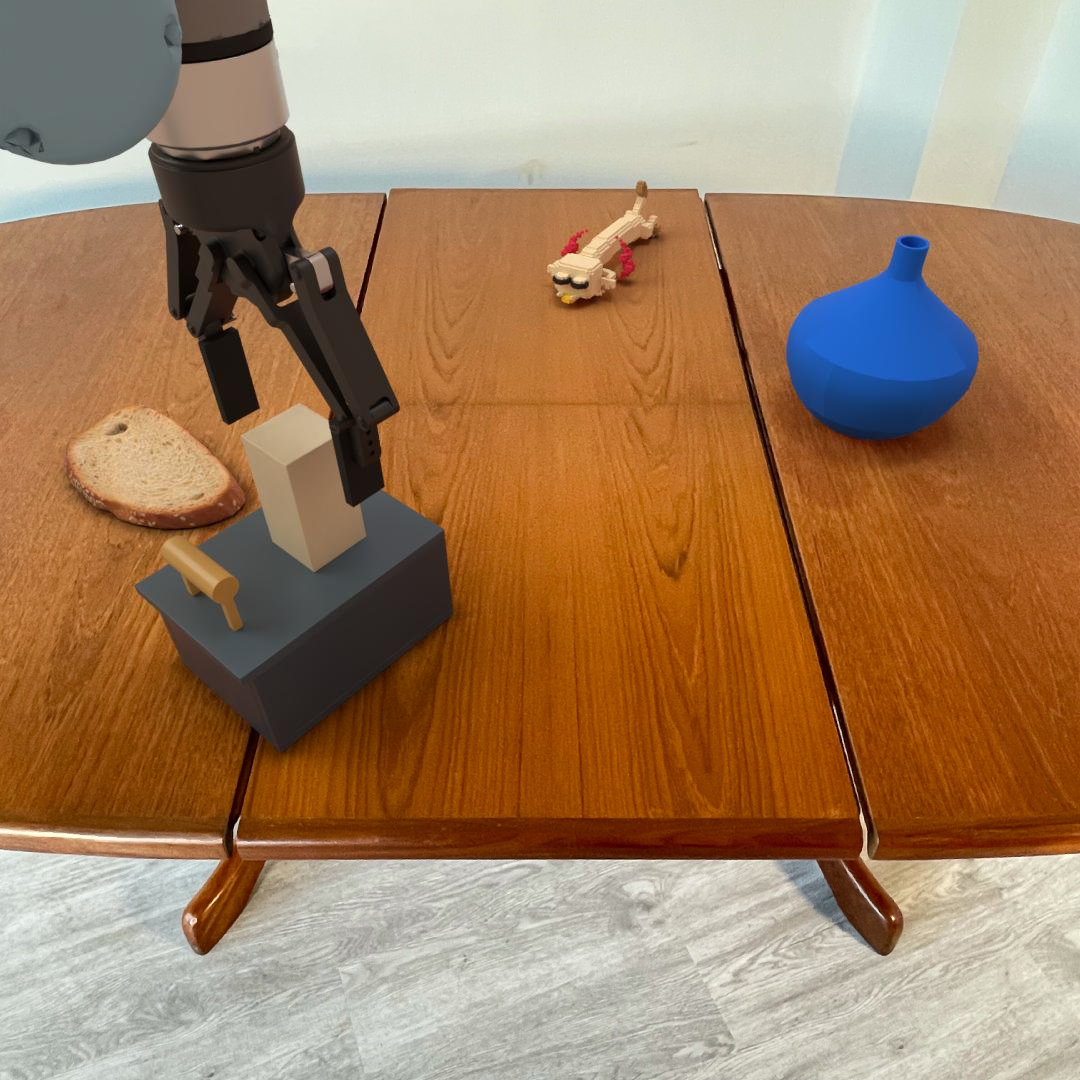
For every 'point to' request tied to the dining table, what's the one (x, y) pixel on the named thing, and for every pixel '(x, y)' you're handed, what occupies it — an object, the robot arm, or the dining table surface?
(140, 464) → the bread slice
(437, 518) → the dining table surface
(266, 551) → the chest lid
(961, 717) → the dining table surface
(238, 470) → the dining table surface
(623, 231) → the cream long figure
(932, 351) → the vase
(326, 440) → the block
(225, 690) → the chest
